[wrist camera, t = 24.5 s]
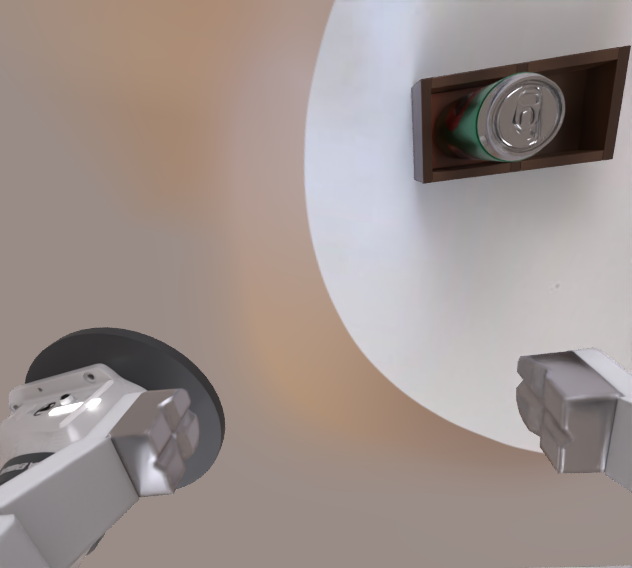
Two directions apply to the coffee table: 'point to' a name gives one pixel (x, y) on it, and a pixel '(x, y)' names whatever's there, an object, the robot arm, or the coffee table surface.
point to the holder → (570, 141)
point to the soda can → (502, 120)
